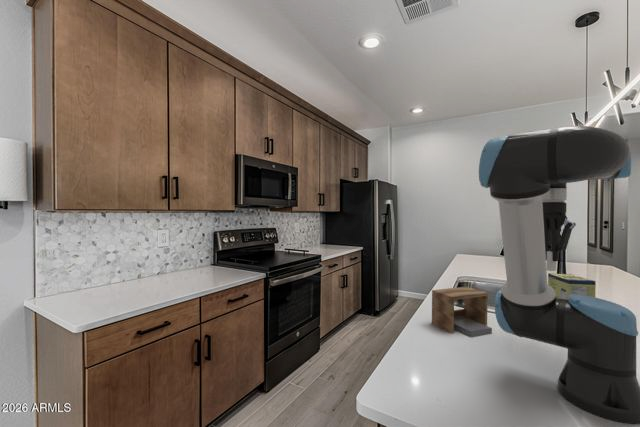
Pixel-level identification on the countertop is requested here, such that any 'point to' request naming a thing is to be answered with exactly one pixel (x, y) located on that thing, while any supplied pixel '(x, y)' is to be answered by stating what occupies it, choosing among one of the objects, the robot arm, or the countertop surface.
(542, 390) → the countertop surface
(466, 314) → the walnut shelf
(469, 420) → the countertop surface
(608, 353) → the robot arm
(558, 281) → the protein box
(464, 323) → the slate board
